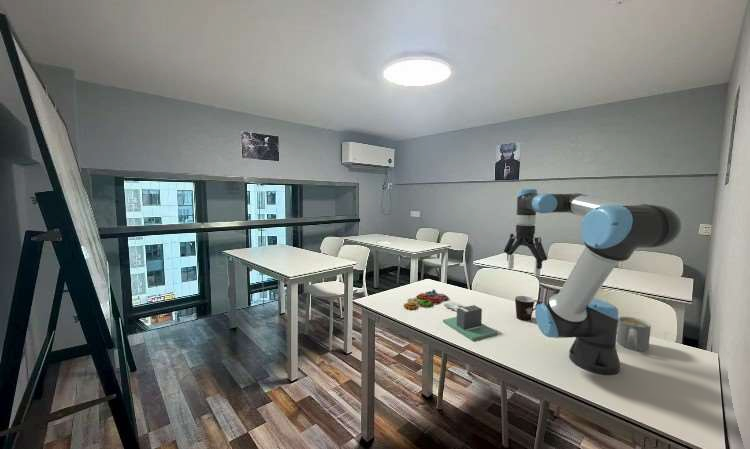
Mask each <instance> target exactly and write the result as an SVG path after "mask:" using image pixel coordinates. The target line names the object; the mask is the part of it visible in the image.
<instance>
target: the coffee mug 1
mask: <svg viewBox="0 0 750 449" xmlns="http://www.w3.org/2000/svg"><path fill="white" fill-rule="evenodd" d="M514 300H515V303H514V304H515V314H516V319H517V320H520V321H521V322H530V321H531V320H532V316H533V312H535V309H536V306H537V305H538V304H540V303H539V301H538V300H535V299H534V298H533V297H530V296H525V295H516V296H515V297H514ZM535 302H536V304H537V305H536V306H535ZM534 306H535V307H534Z"/></svg>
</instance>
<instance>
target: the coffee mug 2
mask: <svg viewBox="0 0 750 449" xmlns="http://www.w3.org/2000/svg"><path fill="white" fill-rule="evenodd" d="M618 318H619V320H618V327H617V336H616V344H618V345H619V346H620V347H622V348H625V349H627V350H631V351H634V352H640V353H641V352H648V351H649V348H650V346H649V345H650V339H651V338H650V336H651V329H652V328H651V326H652V325H651V324H650V322H648V321H646V320H643V319H641V318H636V317H631V316H618Z"/></svg>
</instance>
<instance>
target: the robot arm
mask: <svg viewBox="0 0 750 449" xmlns="http://www.w3.org/2000/svg"><path fill="white" fill-rule="evenodd" d="M537 213H539V214H553V213H567V214H568V213H569V214H573V215H577V216H581V217H583V219H582V221H581V224H580V228H581V230H580V236H581V239H582V242H583V246H584V249H583V251H582V252H581V254H580V256H579V258H578V259H577V261H576V263H575V265H574V266H573V268H572V270H571V271H570V273H569V275H568V277H567V279H566V280H565V282H564V284H563V285H562V287H561V289H560V290H559V292H558V293H555V294H553V295H552V296H550V298H548V299H549V300H548V301H547V302H546V303H543V302H541V303H539V304H538V305H536V306H535V307H536V309H535V310H534V316H535V321H536V323H537V327H538V328H539V330H540V332H541V333H542V335H544V336H545V337H547V338H555V339H558V338H559V339H562V338H563V339H564V338H566V339H567V338H568V339H569V338H575V339H574V341H573V342H572V344H571V347H570V349H569V352H568V358H569V360H570V361H571V362H572V363H573V364H574V365H576V366H577V367H580V368H581V369H584V370H586V371H589V372H591V373H594V374H595V373H596V374H598V375H599V374H600V375H608V376H609V375H617V374H619V373H620V371H621V361H620V358H619V354H618V350H617V348H616V346H617V342H616V340H617V329H618V320H619V309H618V308H617V306H615V305H613V304H611V303H609V302H607V301H605V300H601V299H597V298H594V297H595V296H596V294H597V293H598V292H599V290H600V288H601V287H602V285H604V283H605V281H606V280H607V279H608V278H609V275H610V274H611V273H612V272H613V270H614V269H615V267H616V266H617V264H618V263H619V262H625V261H628V260H629V258H630V257H631V256H632V255H633V254H634V252H636V250H637V249H639V248H640V249H641V248H642V249H645V248H646V249H647V248H660V247H663V246H666V245H668V244H671V243H672V242H673V241H675V240H676V239H677V238H678V237H679V235H680V233H681V231H682V230H681V229H682V221H681V217H679V215H678V214H677V213H676V212H675V211H674V210H672V209H670V208H668V207H665V206H663V205H655V204H648V203H647V204H644V203H643V204H642V203H641V204H638V205H636V204H634V205H632V204H628V203H623V202H617V201H612V200H608V199H602V198H597V197H591V196H588V194H585V193H578V192H577V193H538V190H537V189H535V188H520V189H518V191H517V197H516V220H515V222H516V225H515V233H510V234H509V240H508V241H507V243H506V245H505V247H504V249H503V252H504V253H505V254H506V255H507V256H506V257H507V258H506V261H507V269H508V270H510V269H514V265H515V262H514V261H515V254H514V253H515V251H516V250H517V249H518V248H519V247H520V246H523V247H527V248H528V249H529V250H530V253H531V254H532V256H533V257H534V258H535V260H534V267H533V268H534V269H533V277H535V278H536V277H540V276H541V269H542V267H543V262H544V261H548V257H547V254H546V252H545V249H544V246H543V244H542V237H539V236H537V237H535V234H536V226H535V224H536V216H537Z"/></svg>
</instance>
